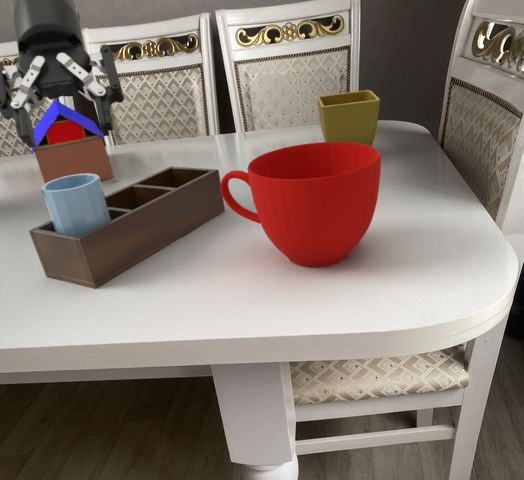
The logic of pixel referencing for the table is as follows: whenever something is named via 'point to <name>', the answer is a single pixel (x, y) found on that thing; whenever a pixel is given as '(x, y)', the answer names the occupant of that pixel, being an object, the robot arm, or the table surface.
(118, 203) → the compartment box
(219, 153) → the table surface
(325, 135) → the flower pot
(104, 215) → the blue cup
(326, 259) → the ceramic cup
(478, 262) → the table surface
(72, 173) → the house
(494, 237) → the table surface
